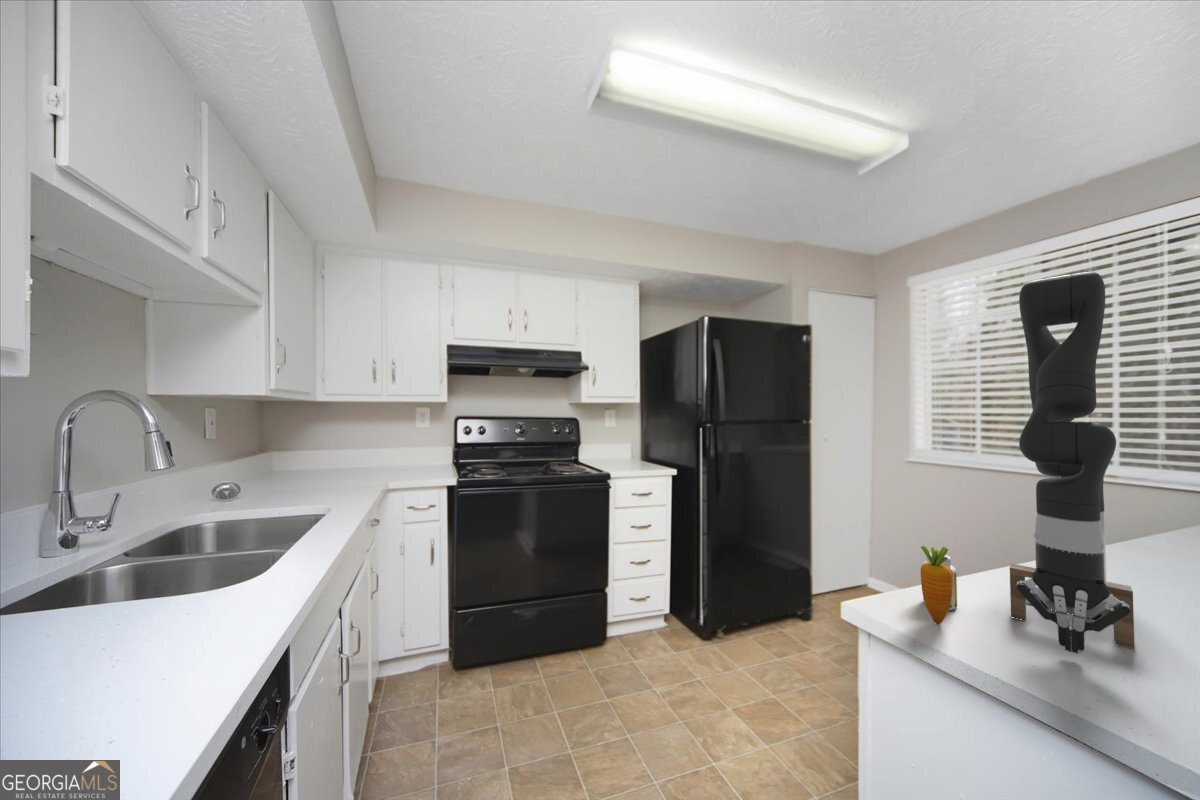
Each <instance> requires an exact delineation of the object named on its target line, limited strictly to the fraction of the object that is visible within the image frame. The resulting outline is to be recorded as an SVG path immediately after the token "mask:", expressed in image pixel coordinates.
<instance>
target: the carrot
mask: <svg viewBox="0 0 1200 800" xmlns="http://www.w3.org/2000/svg"><path fill="white" fill-rule="evenodd" d="M920 548H921V550H922V551H923V553H924V554H925V556H926V558H927V557H928V559H929V561H930V562H926V561H925V562H926V563H924V562H923V563H924V564H923V563H922V564H923V565H921V566H920V581H921V583H920V584H921V592H922V597H924V599H923V602H924V604H925V607H926V610H927V612H928V614H929V615H930V617H931V620H932V621H933V623H935V624H936V625H941V624H942V623H943V622H944V620H945V619H946V616H947V615H948V612H949V611H950V610H949V607H950V603H951V598H952V589H953V572H952V570H951V569H950V568H949V567H947V566H945V565H943V564H941V563H943V562H944V561H946V560H947V559H948V557H944V556H945V555H947V553H948V551H949V549H948V548H947V546H945V545H943V546H942V547H941V549H940V550H939V549H935V547H930V551H929V549H928V548H927V547H926V546H925V545H921V546H920ZM930 553H932V557H931V555H930ZM938 553H939V554H938Z"/></svg>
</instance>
